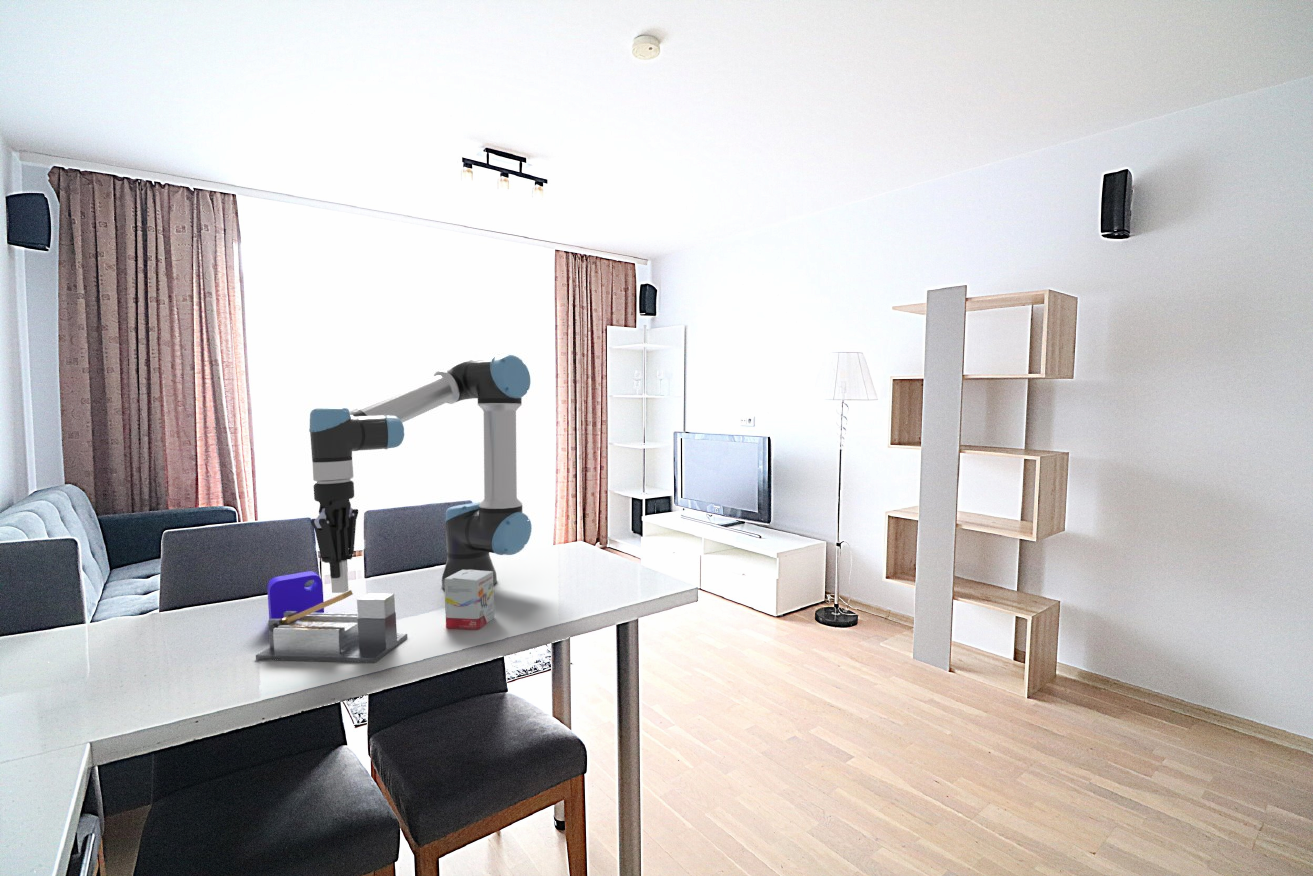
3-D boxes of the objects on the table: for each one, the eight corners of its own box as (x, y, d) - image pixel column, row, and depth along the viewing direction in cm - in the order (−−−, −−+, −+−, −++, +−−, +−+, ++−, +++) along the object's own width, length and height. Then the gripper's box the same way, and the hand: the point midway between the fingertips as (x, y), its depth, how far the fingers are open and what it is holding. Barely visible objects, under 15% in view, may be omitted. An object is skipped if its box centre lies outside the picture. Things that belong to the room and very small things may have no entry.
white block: (368, 611, 133) (367, 593, 133) (395, 612, 133) (394, 593, 133) (357, 618, 129) (356, 599, 129) (385, 618, 129) (384, 599, 129)
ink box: (478, 630, 141) (476, 579, 141) (444, 628, 143) (442, 578, 142) (495, 617, 150) (494, 569, 149) (463, 615, 152) (461, 568, 151)
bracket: (324, 621, 150) (322, 573, 149) (272, 632, 143) (269, 582, 143) (310, 603, 164) (308, 559, 163) (262, 612, 157) (259, 567, 157)
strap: (284, 626, 135) (280, 618, 135) (353, 595, 133) (350, 588, 133) (274, 631, 132) (270, 623, 132) (345, 600, 130) (341, 592, 130)
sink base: (298, 635, 141) (296, 603, 140) (407, 638, 138) (405, 605, 137) (255, 659, 128) (253, 624, 127) (374, 662, 125) (373, 627, 124)
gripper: (336, 477, 137) (342, 582, 138) (295, 485, 124) (303, 601, 125) (368, 477, 136) (374, 582, 137) (330, 484, 123) (337, 601, 124)
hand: (340, 591), depth 131 cm, fingers closed
